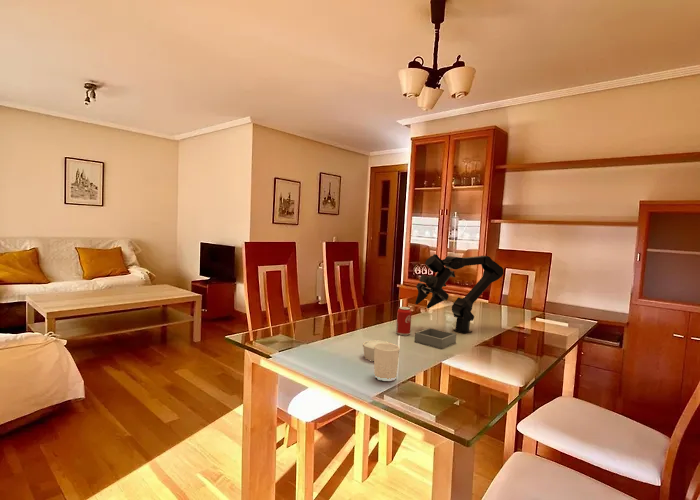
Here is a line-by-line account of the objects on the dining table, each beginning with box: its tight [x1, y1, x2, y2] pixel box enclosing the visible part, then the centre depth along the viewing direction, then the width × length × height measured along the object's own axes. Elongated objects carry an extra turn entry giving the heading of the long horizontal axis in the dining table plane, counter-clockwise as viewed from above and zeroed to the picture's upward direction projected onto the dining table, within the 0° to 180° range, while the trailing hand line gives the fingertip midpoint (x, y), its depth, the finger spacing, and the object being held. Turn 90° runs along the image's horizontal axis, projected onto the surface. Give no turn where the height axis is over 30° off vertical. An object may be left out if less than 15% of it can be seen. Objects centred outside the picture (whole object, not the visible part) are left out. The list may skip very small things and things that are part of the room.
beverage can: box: [395, 306, 412, 337], centre depth 170 cm, size 6×6×12 cm
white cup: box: [373, 342, 401, 379], centre depth 117 cm, size 8×8×10 cm
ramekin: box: [362, 339, 393, 362], centre depth 136 cm, size 11×11×5 cm
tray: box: [414, 327, 457, 350], centre depth 159 cm, size 13×13×4 cm
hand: (421, 305), depth 171 cm, fingers open, 9 cm apart
